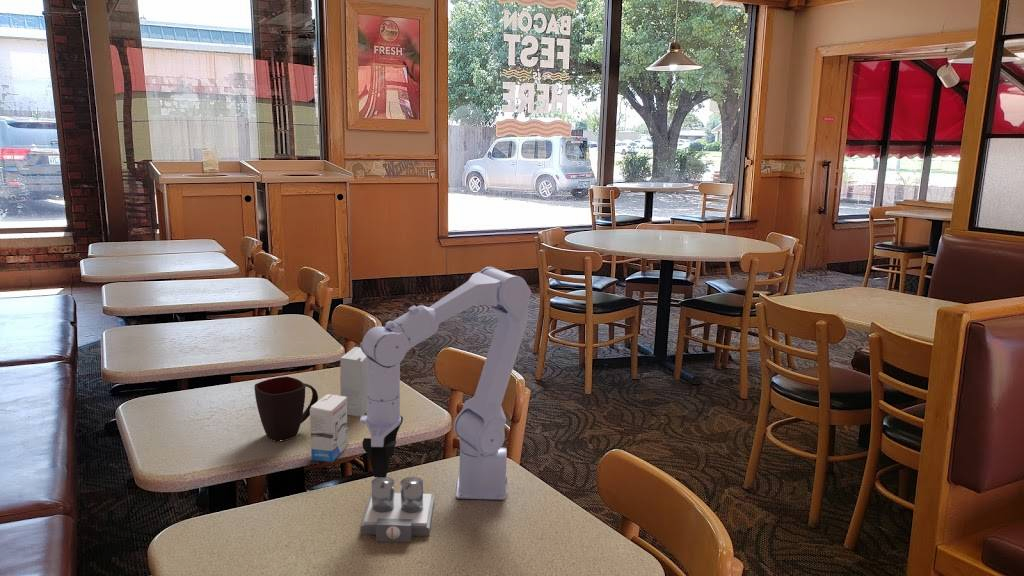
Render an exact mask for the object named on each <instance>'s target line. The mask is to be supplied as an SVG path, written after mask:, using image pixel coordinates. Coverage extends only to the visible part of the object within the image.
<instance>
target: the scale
mask: <svg viewBox="0 0 1024 576" xmlns="http://www.w3.org/2000/svg"><path fill="white" fill-rule="evenodd" d="M434 507H435V495H433V494H432V493H423V509H422V510H421V511H419V512H415V513H407V512H404V511H403V510H402V509H401V492H394V508H393V509H392V510H391V511H389V512H384V513H380V512H376V511H374V510H373V509H372V493H370V495H369V499H368V502H367V504H366V508H365V511H364V515H363V517H362V520H361V524H360V535H369V536H370V535H375V542H393V543H411V542H412V537H413V536H414V537H415V536H416V537H419V536H420V537H421V536H422V537H430V533H431V528H432V521H433V520H432V519H433V513H434Z"/></svg>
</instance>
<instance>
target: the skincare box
mask: <svg viewBox="0 0 1024 576" xmlns="http://www.w3.org/2000/svg"><path fill="white" fill-rule="evenodd" d="M339 361H340V364H339V365H340V367H339V368H340V376H339V377H340V378H339V379H340V380H339V381H340V387H339V389H340V392H339V393H340V396H345V397H347V416H352V417H358V416H360V417H359V418H361V417H362V416H366V415H367V377H366V371H367V359H366V355H365V354H364V353H363V352H362V350H361V347H360V346H359V347H358V346H354V347H353V348H352V349H350V350H349V351H347V352H346V353H345V354H343V356H341V357H340V360H339ZM365 414H366V415H365Z"/></svg>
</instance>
